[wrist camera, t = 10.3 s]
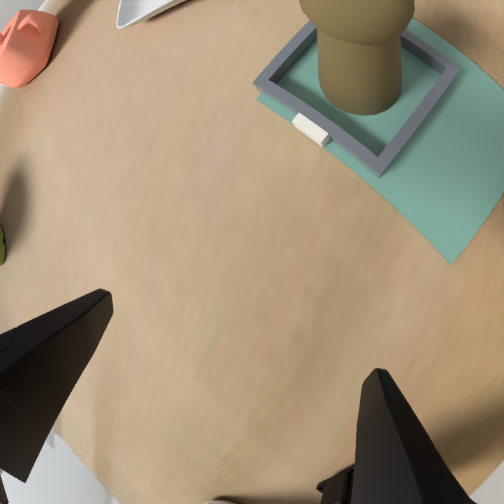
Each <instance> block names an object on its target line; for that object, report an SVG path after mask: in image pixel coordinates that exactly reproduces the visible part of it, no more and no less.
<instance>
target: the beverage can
mask: <svg viewBox="0 0 504 504" xmlns="http://www.w3.org/2000/svg"><path fill="white" fill-rule="evenodd" d="M204 504H236V503H234V502H231V501H226V500H218V501H208V502H206V503H204Z"/></svg>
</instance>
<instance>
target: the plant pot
mask: <svg viewBox="0 0 504 504" xmlns="http://www.w3.org/2000/svg"><path fill="white" fill-rule="evenodd" d="M3 237H4V236H3V231H2V229H1V227H0V266H1V265H2V264H3V262H4V258H5V245H4V243H3Z"/></svg>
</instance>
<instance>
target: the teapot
mask: <svg viewBox="0 0 504 504" xmlns="http://www.w3.org/2000/svg"><path fill="white" fill-rule="evenodd" d="M58 23H59V21H58V20H57V18H56V17H55V16H54V15H52V14H49V13H46V12H42V11H36V10H20V11H19V12H18V13H17V14H16V15H15V16H14V17H13V18H12V19H11V21H10V22H9V23H8V24H7V26H6V27H5V28H4V29H3V31H2V32H1V33H0V83H1V84H3V85H6V86H9V87H12V88H20V87H24V86H25V85H26V84H27V83H28V82H30V81H31V80H32V79H33V78H34V77H35V76H36V75H37V74H38V73H39V72H40V71H41V70H42V69H43V68H44V67H45V66H46V64H47V62H48V59H49V57H50V53H51V50H52V47H53V44H54V41H55V37H56V33H57V29H58Z"/></svg>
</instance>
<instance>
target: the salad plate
mask: <svg viewBox="0 0 504 504" xmlns="http://www.w3.org/2000/svg"><path fill="white" fill-rule="evenodd" d="M183 1H185V0H120V4H119V9H118V15H117V23H116V26H117V28H119V29H123V28H128V27H132V26H135V25H137V24H139V23H141V22H143V21H145V20H147V19H149V18H151V17H153V16H155V15H157V14H159V13H161V12H162V11H164V10H166V9H168V8H170V7H173V6H175V5H177V4H179V3H181V2H183Z"/></svg>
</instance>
